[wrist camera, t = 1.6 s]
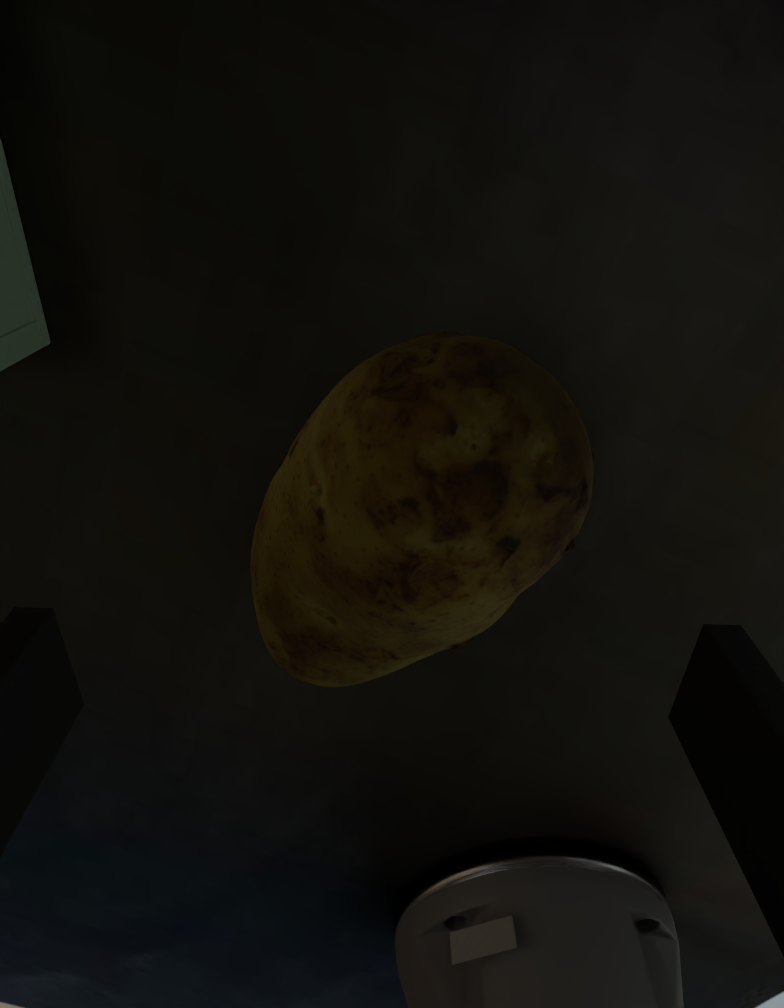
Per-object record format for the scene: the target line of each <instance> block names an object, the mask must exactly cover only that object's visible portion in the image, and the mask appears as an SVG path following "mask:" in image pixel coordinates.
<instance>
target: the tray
mask: <svg viewBox="0 0 784 1008" xmlns="http://www.w3.org/2000/svg"><path fill="white" fill-rule="evenodd" d="M49 344H50V338H49V334H48V330H47V326H46V322H45V318H44V313H43V309H42V305H41V301H40V297H39V293H38V289H37V285H36V281H35V277H34V272H33V268H32V264H31V260H30V256H29V252H28V248H27V244H26V240H25V236H24V232H23V227H22V223H21V219H20V215H19V211H18V207H17V203H16V199H15V195H14V191H13V186H12V182H11V178H10V174H9V170H8V166H7V162H6V158H5V154H4V150H3V146H2V141H1V137H0V371H2V370H4V369H5V368H7V367H9V366H11V365H13V364H14V363H16V362H18V361H20V360H21V359H23V358H25V357H27V356H29V355H30V354H32V353H34V352H36V351H38V350H39V349H41V348H43V347H45V346H47V345H49Z"/></svg>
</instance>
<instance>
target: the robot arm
mask: <svg viewBox="0 0 784 1008" xmlns="http://www.w3.org/2000/svg"><path fill="white" fill-rule="evenodd" d="M83 705H84V703H83V700H82V697H81V694H80V691H79V688H78V685H77V681H76V678H75V675H74V672H73V669H72V666H71V663H70V660H69V656H68V653H67V650H66V647H65V644H64V641H63V638H62V634H61V631H60V628H59V625H58V622H57V619H56V616H55V613H54V609H53V608H18V607H14V609H13V610H12V611H11V612H10V614H9V615H8V616H7V617H6V618H5V620H4V621H3V622H2V623H1V625H0V856H1V854H2V852H3V851H4V849H5V847H6V845H7V843H8V842H9V840H10V838H11V836H12V834H13V832H14V831H15V829H16V827H17V825H18V823H19V821H20V820H21V818H22V816H23V814H24V812H25V811H26V809H27V807H28V805H29V803H30V801H31V800H32V798H33V796H34V794H35V792H36V791H37V789H38V787H39V785H40V783H41V781H42V780H43V778H44V776H45V774H46V772H47V770H48V769H49V767H50V765H51V763H52V761H53V760H54V758H55V756H56V754H57V752H58V750H59V749H60V747H61V745H62V743H63V741H64V740H65V738H66V736H67V734H68V732H69V730H70V729H71V727H72V725H73V723H74V721H75V719H76V718H77V716H78V714H79V712H80V710H81V709H82V707H83ZM668 718H669V720H670V722H671V724H672V726H673V728H674V730H675V732H676V734H677V736H678V738H679V741H680V743H681V745H682V747H683V749H684V751H685V753H686V755H687V757H688V759H689V761H690V763H691V765H692V768H693V770H694V772H695V774H696V776H697V778H698V780H699V782H700V784H701V786H702V788H703V790H704V792H705V794H706V797H707V799H708V801H709V803H710V805H711V807H712V809H713V811H714V813H715V815H716V817H717V819H718V821H719V824H720V826H721V828H722V830H723V832H724V834H725V836H726V838H727V840H728V842H729V844H730V846H731V848H732V850H733V853H734V855H735V857H736V859H737V861H738V863H739V865H740V867H741V869H742V871H743V873H744V875H745V877H746V880H747V882H748V884H749V886H750V888H751V890H752V892H753V894H754V896H755V898H756V900H757V902H758V904H759V907H760V909H761V911H762V913H763V915H764V917H765V919H766V921H767V923H768V925H769V927H770V929H771V931H772V933H773V936H774V938H775V940H776V942H777V944H778V946H779V948H780V950H781V952H782V954H783V956H784V684H783V683H782V682H781V680H780V679H779V677H778V676H777V675H776V673H775V672H774V670H773V669H772V668H771V666H770V665H769V664H768V662H767V661H766V659H765V658H764V657H763V655H762V654H761V653H760V651H759V650H758V648H757V647H756V646H755V644H754V643H753V641H752V640H751V639H750V637H749V636H748V635H747V633H746V632H745V630H744V629H743V628H742V626H741V625H712V624H703V627H702V629H701V632H700V635H699V637H698V640H697V643H696V645H695V648H694V651H693V653H692V656H691V658H690V661H689V664H688V666H687V669H686V672H685V674H684V677H683V680H682V682H681V685H680V687H679V690H678V693H677V695H676V698H675V701H674V703H673V706H672V709H671V711H670V714H669V716H668ZM394 926H395V953H396V962H397V969H398V974H399V978H400V981H401V985H402V988H403V992H404V995H405V999H406V1002H407V1006H408V1008H683V995H682V981H681V967H680V953H679V942H678V937H677V933H676V929H675V925H674V919H673V916H672V914H671V911H670V908H669V906H668V903H667V900H666V897H665V895H664V892H663V890H662V887H661V885H660V884H659V882H658V880H657V879H656V878H655V877H654V876H653V875H652V874H651V873H650V872H649V871H648V870H647V869H646V868H645V867H643V866H642V865H640V864H639V863H637V862H636V861H634V860H632V859H630V858H628V857H626V856H624V855H621V854H619V853H617V852H614V851H611V850H608V849H604V848H600V847H596V846H592V845H587V844H581V843H574V842H564V841H526V842H516V843H509V844H502V845H497V846H492V847H488V848H483V849H480V850H476V851H473V852H470V853H467V854H464V855H461V856H459V857H456V858H454V859H451V860H449V861H447V862H445V863H443V864H441V865H439V866H437V867H436V868H434V869H432V870H430V871H429V872H428V873H426V874H425V875H423V876H422V877H421V878H419V879H418V880H417V881H416V882H415V883H414V884H413V885H412V886H411V887H410V888H409V889H408V890H407V891H406V892H405V894H404V895H403V897H402V898H401V900H400V902H399V904H398V906H397V909H396V912H395V919H394Z"/></svg>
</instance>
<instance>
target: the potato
mask: <svg viewBox="0 0 784 1008" xmlns="http://www.w3.org/2000/svg"><path fill="white" fill-rule="evenodd" d="M594 488H595V474H594V453H593V452H592V451H591V448H590V443H589V439H588V436H587V433H586V429H585V426H584V423H583V421H582V419H581V417H580V415H579V413H578V411H577V409H576V407H575V405H574V403H573V401H572V399H571V398H570V396H569V395H568V394H567V392H566V391H565V390H564V389H563V387H562V386H561V385H560V384H559V382H558V381H557V380H556V379H555V378H554V377H553V376H552V375H551V374H550V373H549V372H548V371H546V370H545V369H544V368H543V367H542V366H541V365H539V364H538V363H537V362H535V361H534V360H533V359H531V358H530V357H529V356H527V355H526V354H524V353H523V352H521V351H519V350H517V349H516V348H514V347H512V346H511V345H508V344H505V343H502V342H500V341H497V340H494V339H490V338H485V337H479V336H473V335H461V334H459V333H457V332H453V333H450V332H446V331H444V332H440V333H438V332H432V333H429V334H426V335H421V336H417V337H416V338H414V339H411V340H409V341H406V342H403V343H400V344H397V345H395V346H392V347H390V348H387V349H385V350H383V351H381V352H378V353H376V354H375V355H373V356H371V357H370V358H368V359H367V360H365V361H364V362H362V363H361V364H359V365H358V366H357V367H355V368H352V369H351V370H349V371H348V373H347V375H346V376H345V377H344V378H343V379H342V380H341V381H340V382H339V383H338V384H337V385H336V386H335V387H334V388H333V389H332V390H331V392H330V393H329V394H328V395H327V396H326V397H325V398H324V400H323V401H322V402H321V403H320V404H319V405H318V407H317V408H316V409H315V411H314V412H313V413H312V415H311V416H310V417H309V419H308V420H307V422H306V423H305V424H304V426H303V427H302V429H301V430H300V432H299V433H298V435H297V437H296V438H295V440H294V442H293V444H292V446H291V447H290V450H289V452H288V454H287V456H286V458H285V459H284V461H283V463H282V465H281V467H280V468H279V469H278V471H277V472H276V474H275V475H274V477H273V478H272V480H271V483H270V485H269V487H268V490H267V492H266V494H265V497H264V500H263V504H262V507H261V510H260V513H259V516H258V520H257V523H256V527H255V532H254V538H253V543H252V549H251V562H250V567H251V588H252V594H253V600H254V606H255V611H256V617H257V622H258V625H259V629H260V633H261V635H262V638H263V640H264V643H265V645H266V647H267V649H268V651H269V653H270V655H271V656H272V658H273V659H274V660H275V662H276V663H277V664H278V665H279V666H280V667H282V668H283V669H284V670H285V671H286V672H287V673H288V674H290V675H292V676H294V677H296V678H298V679H300V680H302V681H305V682H308V683H310V684H313V685H318V686H323V687H343V686H351V685H355V684H359V683H362V682H366V681H369V680H372V679H375V678H378V677H381V676H384V675H387V674H389V673H392V672H394V671H397V670H399V669H402V668H404V667H406V666H407V665H409V664H411V663H414V662H416V661H418V660H421V659H423V658H425V657H428V656H430V655H432V654H435V653H437V652H440V651H442V650H445V649H447V650H449V651H455V650H456V649H458V648H460V647H462V646H463V645H465V644H468V643H469V641H470V640H473V639H474V638H475V636H476V635H477V634H479V633H481V632H483V631H485V630H486V629H487V628H489V627H490V626H491V625H493V624H494V623H495V622H496V621H497V620H498V619H499V618H500V617H501V616H502V615H503V614H504V613H505V611H506V610H507V609H508V608H509V607H510V606H511V604H512V603H513V602H514V600H515V599H516V598H517V596H518V595H519V594H520V593H522V592H523V591H524V590H526V589H527V588H528V587H530V586H531V585H533V584H534V583H535V582H536V581H538V580H539V579H540V578H541V577H542V576H543V575H544V574H545V573H546V572H548V571H549V570H550V569H551V568H552V567H553V566H554V565H555V564H556V563H557V562H558V561H559V560H560V559H561V558H562V557H564V556H565V555H567V554H568V553H569V552H570V550H571V549H572V548H573V547H574V546H575V544H574V539H575V537H576V536H577V534H578V532H579V530H580V528H581V526H582V524H583V522H584V518H585V515H586V514H587V513H588V511H589V508H590V500H591V495H592V494H593V493H594Z"/></svg>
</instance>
